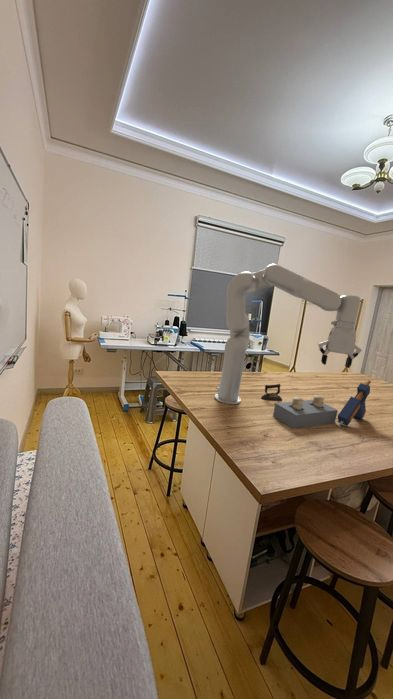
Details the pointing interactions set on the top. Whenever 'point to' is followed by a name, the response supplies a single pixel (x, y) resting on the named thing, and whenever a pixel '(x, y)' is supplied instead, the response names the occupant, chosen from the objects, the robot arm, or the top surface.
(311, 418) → the block
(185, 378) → the top surface
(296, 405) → the dowel
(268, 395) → the clothes iron
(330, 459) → the top surface
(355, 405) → the glue gun
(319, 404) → the dowel
